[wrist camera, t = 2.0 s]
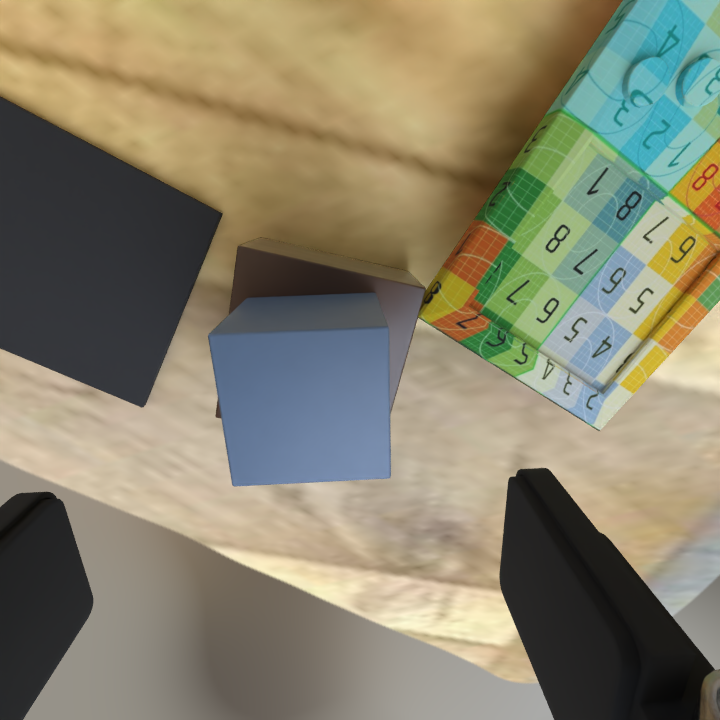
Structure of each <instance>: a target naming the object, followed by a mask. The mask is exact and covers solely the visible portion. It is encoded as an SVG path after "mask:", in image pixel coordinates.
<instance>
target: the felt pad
mask: <svg viewBox="0 0 720 720" xmlns="http://www.w3.org/2000/svg"><path fill="white" fill-rule="evenodd" d="M221 217H222V213H221V212H219V211H217V210H215V209H213V208H211V207H209V206H208V205H206V204H204V203H202V202H200V201H198V200H196V199H194V198H192V197H190V196H189V195H187V194H185V193H183V192H181V191H179V190H177V189H175V188H173V187H171V186H170V185H168V184H166V183H164V182H162V181H160V180H158V179H156V178H154V177H152V176H151V175H149V174H147V173H145V172H143V171H141V170H139V169H137V168H135V167H133V166H132V165H130V164H128V163H126V162H124V161H122V160H120V159H118V158H116V157H114V156H113V155H111V154H109V153H107V152H105V151H103V150H101V149H99V148H97V147H95V146H93V145H92V144H90V143H88V142H86V141H84V140H82V139H80V138H78V137H76V136H74V135H73V134H71V133H69V132H67V131H65V130H63V129H61V128H59V127H57V126H55V125H54V124H52V123H50V122H48V121H46V120H44V119H42V118H40V117H38V116H36V115H35V114H33V113H31V112H29V111H27V110H25V109H23V108H21V107H19V106H17V105H16V104H14V103H12V102H10V101H8V100H6V99H4V98H2V97H0V348H1V349H3V350H6V351H8V352H10V353H13V354H15V355H18V356H20V357H22V358H25V359H27V360H30V361H32V362H34V363H37V364H39V365H42V366H44V367H46V368H49V369H51V370H54V371H56V372H58V373H61V374H63V375H66V376H68V377H70V378H73V379H75V380H77V381H80V382H82V383H85V384H87V385H89V386H92V387H94V388H97V389H99V390H101V391H104V392H106V393H109V394H111V395H113V396H116V397H118V398H121V399H123V400H125V401H128V402H130V403H133V404H135V405H137V406H140V407H144V406H145V405H146V402H147V400H148V397H149V395H150V392H151V390H152V387H153V385H154V382H155V380H156V377H157V375H158V373H159V370H160V368H161V365H162V363H163V360H164V358H165V355H166V353H167V350H168V348H169V345H170V343H171V340H172V338H173V335H174V333H175V331H176V328H177V326H178V323H179V321H180V318H181V316H182V313H183V311H184V308H185V306H186V303H187V301H188V298H189V296H190V293H191V291H192V289H193V286H194V284H195V281H196V279H197V276H198V274H199V271H200V269H201V266H202V264H203V261H204V259H205V256H206V254H207V251H208V249H209V246H210V244H211V242H212V239H213V237H214V234H215V232H216V229H217V227H218V224H219V222H220V219H221Z"/></svg>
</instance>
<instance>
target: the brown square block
mask: <svg viewBox="0 0 720 720" xmlns="http://www.w3.org/2000/svg"><path fill="white" fill-rule="evenodd" d="M425 290H426V288H425V287H424V286H423V285H422V284H421V283H420V282H419V281H418V280H417V279H416V278H415V277H414V276H413V275H412V274H411V273H410V272H408V271H405V270H400V269H396V268H392V267H387V266H383V265H379V264H374V263H370V262H366V261H362V260H357V259H353V258H349V257H344V256H340V255H336V254H331V253H327V252H323V251H318V250H314V249H310V248H305V247H301V246H297V245H293V244H288V243H284V242H280V241H275V240H271V239H267V238H262V237H260V238H258V239H255V240H252V241H250V242H247V243H244V244H241V245H239V246H238V249H237V256H236V264H235V272H234V279H233V287H232V294H231V302H230V310H229V315H230V314H231V313H232V312H233V311H234V310H235V309H236V308H237V307H238V306H239V305H240V304H241V303H242V302H243V301H244V300H245V299H246V298H256V297H280V296H304V295H328V294H352V293H376V295H377V298H378V300H379V303H380V305H381V308H382V311H383V313H384V316H385V319H386V321H387V324H388V327H389V357H390V414H391V410H392V407H393V403H394V400H395V396H396V393H397V389H398V386H399V382H400V379H401V375H402V372H403V368H404V364H405V361H406V357H407V354H408V350H409V347H410V343H411V340H412V336H413V333H414V329H415V326H416V322H417V319H418V315H419V311H420V308H421V304H422V301H423V297H424V294H425ZM216 417H217V418H221V412H220V406H219V400H218V401H217V409H216Z"/></svg>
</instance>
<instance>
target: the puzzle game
mask: <svg viewBox="0 0 720 720" xmlns="http://www.w3.org/2000/svg"><path fill="white" fill-rule="evenodd" d="M719 301H720V0H623V1H622V2H621V4H620V5H619V7H618V8H617V10H616V11H615V13H614V14H613V16H612V17H611V19H610V20H609V22H608V23H607V25H606V26H605V27H604V29H603V30H602V32H601V33H600V35H599V36H598V38H597V39H596V41H595V42H594V44H593V45H592V47H591V48H590V50H589V51H588V53H587V54H586V55H585V57H584V58H583V60H582V61H581V63H580V64H579V66H578V67H577V69H576V70H575V72H574V73H573V75H572V76H571V78H570V79H569V81H568V82H567V83H566V85H565V86H564V88H563V89H562V91H561V92H560V94H559V95H558V97H557V98H556V100H555V101H554V103H553V104H552V106H551V107H550V108H549V110H548V111H547V113H546V114H545V116H544V117H543V119H542V120H541V122H540V123H539V125H538V126H537V128H536V129H535V131H534V132H533V134H532V135H531V136H530V138H529V139H528V141H527V142H526V144H525V145H524V147H523V148H522V150H521V151H520V153H519V154H518V156H517V157H516V159H515V160H514V162H513V163H512V164H511V166H510V167H509V169H508V170H507V172H506V173H505V175H504V176H503V178H502V179H501V181H500V182H499V184H498V185H497V187H496V188H495V189H494V191H493V192H492V194H491V195H490V197H489V198H488V200H487V201H486V203H485V204H484V206H483V207H482V209H481V210H480V212H479V213H478V215H477V216H476V217H475V219H474V220H473V222H472V223H471V225H470V226H469V228H468V229H467V231H466V232H465V234H464V235H463V237H462V238H461V240H460V241H459V243H458V244H457V245H456V247H455V248H454V250H453V251H452V253H451V254H450V256H449V257H448V259H447V260H446V262H445V263H444V265H443V266H442V268H441V269H440V271H439V272H438V273H437V275H436V276H435V278H434V279H433V281H432V282H431V284H430V285H429V287H428V288H427V290H426V291H425V294H424V297H423V301H422V304H421V308H420V311H419V315H418V318H420V319H421V320H423V321H424V322H426V323H428V324H429V325H431V326H432V327H434V328H436V329H437V330H439V331H440V332H442V333H444V334H445V335H447V336H448V337H450V338H451V339H453V340H455V341H456V342H458V343H459V344H461V345H463V346H464V347H466V348H467V349H469V350H471V351H472V352H474V353H475V354H477V355H479V356H480V357H482V358H483V359H485V360H487V361H488V362H490V363H491V364H493V365H495V366H496V367H498V368H499V369H501V370H502V371H504V372H506V373H507V374H509V375H510V376H512V377H514V378H515V379H517V380H518V381H520V382H522V383H523V384H525V385H526V386H528V387H530V388H531V389H533V390H534V391H536V392H538V393H539V394H541V395H542V396H544V397H545V398H547V399H549V400H550V401H552V402H553V403H555V404H557V405H558V406H560V407H561V408H563V409H565V410H566V411H568V412H569V413H571V414H573V415H574V416H576V417H577V418H579V419H581V420H582V421H584V422H585V423H587V424H589V425H590V426H592V427H593V428H595V429H596V430H598V431H600V430H601V429H602V428H603V427H604V426H605V424H606V423H607V422H608V421H609V420H610V419H611V418H612V417H613V416H614V414H615V413H616V412H617V411H618V410H619V409H620V408H621V407H622V406H623V405H624V404H625V403H626V401H627V400H628V399H629V398H630V397H631V396H632V395H633V394H634V393H635V392H636V391H637V390H638V388H639V387H640V386H641V385H642V384H643V383H644V382H645V381H646V380H647V379H648V378H649V376H650V375H651V374H652V373H653V372H654V371H655V370H656V369H657V368H658V367H659V366H660V365H661V363H662V362H663V361H664V360H665V359H666V358H667V357H668V356H669V355H670V354H671V353H672V352H673V350H674V349H675V348H676V347H677V346H678V345H679V344H680V343H681V342H682V341H683V340H684V339H685V337H686V336H687V335H688V334H689V333H690V332H691V331H692V330H693V329H694V328H695V327H696V325H697V324H698V323H699V322H700V321H701V320H702V319H703V318H704V317H705V316H706V315H707V314H708V312H709V311H710V310H711V309H712V308H713V307H714V306H715V305H716V304H717V303H718V302H719Z"/></svg>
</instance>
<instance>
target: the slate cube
mask: <svg viewBox="0 0 720 720" xmlns="http://www.w3.org/2000/svg"><path fill="white" fill-rule="evenodd" d="M208 338H209V345H210V351H211V357H212V363H213V369H214V375H215V381H216V387H217V394H218V400H219V406H220V412H221V418H222V424H223V430H224V436H225V443H226V449H227V455H228V461H229V467H230V473H231V479H232V485H233V486H251V485H271V484H290V483H309V482H329V481H348V480H367V479H387V478H390V477H391V445H390V357H389V327H388V324H387V321H386V319H385V316H384V313H383V311H382V308H381V305H380V303H379V300H378V298H377V295H376V293H352V294H328V295H304V296H280V297H256V298H246V299H245V300H244V301H243V302H242V303H241V304H240V305H239V306H238V307H237V308H236V309H235V310H234V311H233V312H232V313H231V314H230V315H228V316H227V317H226V318H225V319H224V320H223V321H222V322H221V323H220V324H219V325H218V326H217V327H216V328H215V329H214V330H213V331H212V332H211V333H209V335H208Z"/></svg>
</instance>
